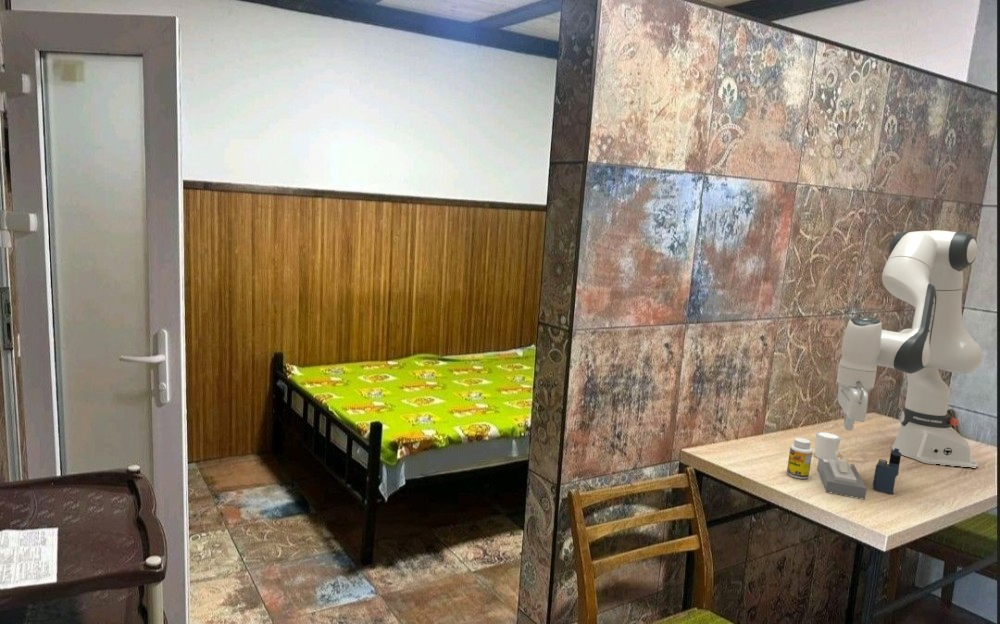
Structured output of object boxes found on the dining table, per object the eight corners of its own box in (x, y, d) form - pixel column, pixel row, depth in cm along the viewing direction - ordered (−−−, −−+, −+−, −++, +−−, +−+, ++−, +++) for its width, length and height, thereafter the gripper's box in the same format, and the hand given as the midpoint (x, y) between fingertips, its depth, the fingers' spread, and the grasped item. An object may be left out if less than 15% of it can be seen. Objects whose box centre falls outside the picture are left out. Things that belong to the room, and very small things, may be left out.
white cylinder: (840, 463, 194) (844, 440, 193) (815, 459, 195) (819, 437, 194) (834, 455, 200) (837, 433, 199) (810, 452, 202) (813, 430, 201)
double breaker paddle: (842, 461, 180) (841, 450, 180) (847, 472, 173) (846, 460, 173) (836, 462, 181) (834, 451, 181) (841, 472, 173) (839, 460, 173)
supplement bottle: (781, 472, 182) (787, 437, 181) (796, 470, 185) (801, 435, 183) (798, 480, 177) (803, 444, 176) (813, 478, 179) (818, 442, 178)
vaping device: (894, 495, 172) (902, 451, 170) (871, 489, 174) (879, 446, 173) (894, 492, 174) (902, 448, 172) (872, 486, 177) (879, 444, 175)
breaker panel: (852, 474, 185) (854, 461, 184) (864, 499, 168) (867, 484, 167) (817, 468, 187) (819, 455, 187) (825, 492, 171) (828, 477, 170)
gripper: (877, 388, 163) (868, 442, 165) (862, 372, 182) (854, 420, 184) (849, 384, 165) (840, 437, 167) (836, 369, 184) (829, 416, 186)
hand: (847, 428), depth 175 cm, fingers closed
